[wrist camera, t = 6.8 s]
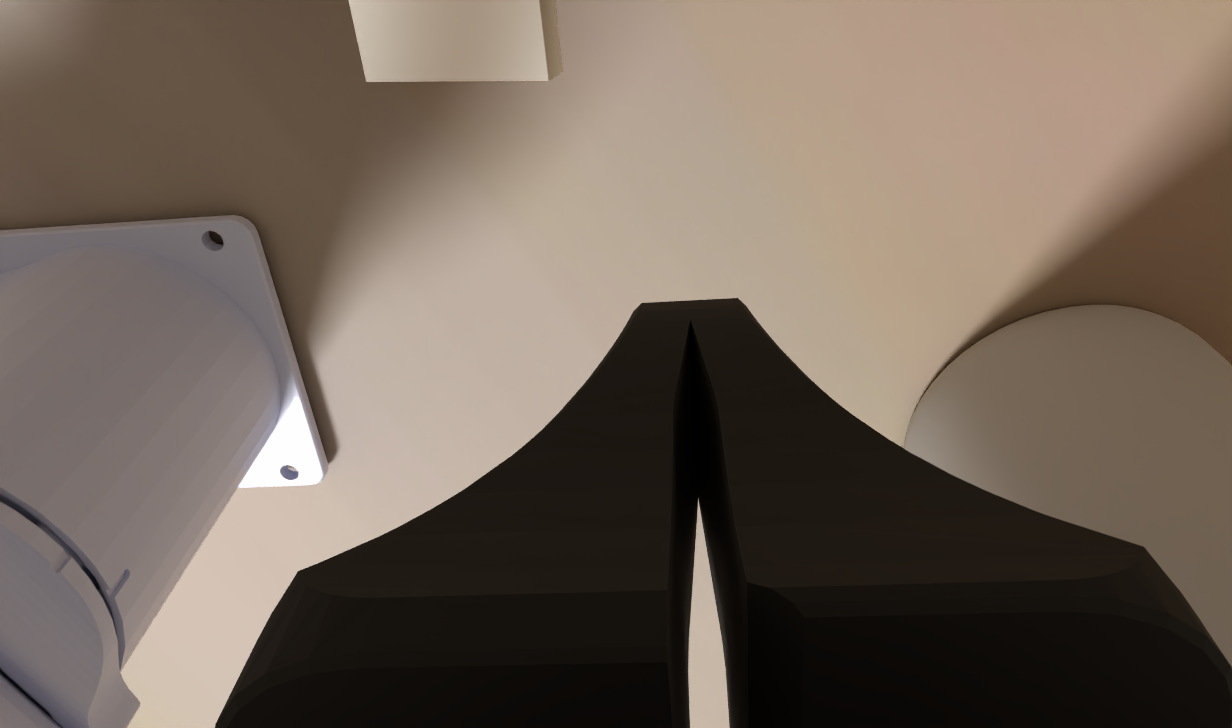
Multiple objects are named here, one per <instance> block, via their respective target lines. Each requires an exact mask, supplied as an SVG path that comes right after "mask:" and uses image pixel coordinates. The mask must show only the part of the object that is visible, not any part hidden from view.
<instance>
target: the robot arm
mask: <svg viewBox="0 0 1232 728" xmlns="http://www.w3.org/2000/svg"><path fill="white" fill-rule="evenodd" d="M209 231H214V232H216V233H218V234H219V235H220V236H221V237H222V239H223V243H224V245H220V244H216V243H215V242H213V241H212V240H211V238H210V236H209ZM286 465H290V466H293V467H295V468H296V469H297V470H298V471H297V472H296V471H291V470H290V469H288V468H287V467H286ZM327 471H328V462H327V459H326V456H325V452H324V449H323V446H322V442H321V439H320V436H319V432H318V429H317V426H316V423H315V419H314V416H313V413H312V409H311V406H310V403H309V399H308V396H307V393H306V390H305V386H304V383H303V380H302V376H301V373H300V370H299V366H298V363H297V360H296V356H295V353H294V350H293V347H292V343H291V340H290V337H289V333H288V330H287V327H286V323H285V320H284V317H283V313H282V310H281V307H280V304H279V300H278V297H277V294H276V290H275V287H274V284H273V280H272V277H271V274H270V271H269V267H268V264H267V261H266V257H265V254H264V251H263V247H262V244H261V241H260V237H259V234H258V232H257V230H256V228H255V226H254V225H253V224H252V223H251V222H250V221H249V220H248V219H246V218H244V217H241V216H236V215H225V216H209V217H194V218H179V219H164V220H149V221H134V222H118V223H103V224H88V225H73V226H58V227H43V228H27V229H12V230H0V728H127V727H128V725H129V723H130V722H131V720H132V718H133V717H134V715H135V713H136V711H137V710H138V708H139V706H140V702H139V700H138V699H137V697H136V696H135V695H134V694H133V693H132V692H131V691H130V690H129V688H128V687H127V685H126V684H125V682H124V680H123V678H122V676H121V673H120V672H121V670H122V669H123V667H124V665H125V664H126V662H127V661H128V659H129V658H130V656H131V654H132V653H133V651H134V650H135V648H136V647H137V645H138V643H139V642H140V640H141V639H142V637H143V636H144V634H145V632H146V631H147V629H148V628H149V626H150V625H151V623H152V621H153V620H154V618H155V617H156V615H157V614H158V612H159V610H160V609H161V607H162V606H163V604H164V603H165V601H166V599H167V598H168V596H169V595H170V593H171V592H172V590H173V588H174V587H175V585H176V584H177V582H178V581H179V579H180V577H181V576H182V574H183V573H184V571H185V570H186V568H187V567H188V565H189V563H190V562H191V560H192V559H193V557H194V556H195V554H196V552H197V551H198V549H199V548H200V546H201V545H202V543H203V541H204V540H205V538H206V537H207V535H208V534H209V532H210V530H211V529H212V527H213V526H214V524H215V523H216V521H217V519H218V518H219V516H220V515H221V513H222V512H223V510H224V508H225V507H226V505H227V504H228V502H229V501H230V499H231V497H232V496H233V494H234V493H235V491H236V490H237V488H253V487H276V486H299V485H314V484H318V483H320V482H321V481H322V480H323V479H324V477H325V475H326V473H327ZM698 498H699V504H700V511H701V517H702V523H703V529H704V535H705V541H706V547H707V552H708V558H709V564H710V570H711V576H712V582H713V588H714V594H715V600H716V606H717V611H718V617H719V623H720V629H721V635H722V642H723V650H724V659H725V667H726V678H727V693H728V708H729V723H730V728H1232V668H1231V665H1230V664H1229V662H1228V661H1227V659H1226V658H1225V656H1224V655H1223V653H1222V652H1221V650H1220V649H1219V647H1218V646H1217V644H1216V643H1215V641H1214V640H1213V638H1212V637H1211V636H1210V634H1209V633H1208V631H1207V630H1206V628H1205V626H1204V625H1203V623H1202V621H1201V620H1200V619H1199V617H1198V616H1197V614H1196V613H1195V611H1194V610H1193V609H1192V607H1191V606H1190V604H1189V603H1188V601H1187V600H1186V599H1185V597H1184V596H1183V594H1182V593H1181V591H1180V590H1179V589H1178V588H1177V587H1176V585H1175V584H1174V583H1173V582H1172V581H1171V579H1170V578H1169V577H1168V576H1167V574H1166V573H1165V572H1164V571H1163V570H1162V568H1161V567H1160V566H1159V565H1158V563H1157V562H1156V561H1155V560H1154V558H1153V557H1152V556H1151V555H1150V553H1149V552H1148V551H1147V550H1146V548H1145V547H1143V546H1140V545H1137V544H1134V543H1131V542H1128V541H1125V540H1122V539H1119V538H1116V537H1113V536H1109V535H1106V534H1103V533H1100V532H1097V531H1094V530H1091V529H1088V528H1085V527H1082V526H1079V525H1075V524H1072V523H1069V522H1066V521H1063V520H1060V519H1057V518H1054V517H1051V516H1048V515H1045V514H1042V513H1040V512H1037V511H1034V510H1032V509H1029V508H1027V507H1024V506H1022V505H1020V504H1017V503H1015V502H1012V501H1010V500H1007V499H1005V498H1003V497H1000V496H998V495H995V494H993V493H990V492H988V491H986V490H983V489H981V488H979V487H977V486H975V485H973V484H971V483H968V482H966V481H964V480H962V479H960V478H958V477H956V476H953V475H951V474H949V473H948V472H946V471H944V470H942V469H940V468H938V467H936V466H935V465H933V464H931V463H929V462H927V461H925V460H923V459H922V458H920V457H918V456H916V455H914V454H912V453H910V452H909V451H907V450H905V449H904V448H902V447H900V446H899V445H897V444H895V443H894V442H892V441H890V440H889V439H887V438H886V437H884V436H883V435H881V434H880V433H878V432H877V431H875V430H874V429H872V428H871V427H869V426H868V425H867V424H865V423H864V422H862V421H861V420H859V419H858V418H856V417H855V416H853V415H852V414H851V413H849V412H848V411H847V410H845V409H844V408H843V407H842V406H840V405H839V404H838V403H836V402H835V401H834V400H833V399H832V398H831V397H829V396H828V395H827V394H826V393H825V392H824V391H822V390H821V389H820V388H819V387H818V386H817V385H816V384H815V383H814V382H813V381H812V380H811V379H810V378H808V377H807V376H806V375H805V374H804V373H803V372H802V371H801V370H800V369H799V367H798V366H797V365H796V364H795V363H794V362H793V361H792V360H791V359H790V358H789V357H788V356H787V355H786V354H785V353H784V352H783V351H782V350H781V349H780V348H779V347H778V345H777V344H776V343H775V342H774V341H773V340H772V339H771V337H770V336H769V335H768V334H767V333H766V331H765V330H764V329H763V328H762V327H761V325H760V324H759V323H758V322H757V320H756V319H755V318H754V316H753V315H752V314H751V312H750V311H749V309H748V308H747V306H746V305H744V304H743V303H742V302H741V301H740V300H739V299H738V298H732V299H712V300H693V301H674V302H654V303H641V304H640V305H639V306H638V307H637V308H636V309H635V310H634V311H633V313H632V315H631V317H630V319H629V321H628V323H627V324H626V326H625V328H624V329H623V331H622V332H621V334H620V336H619V337H618V339H617V340H616V342H615V343H614V345H613V346H612V348H611V349H610V351H609V352H608V353H607V355H606V356H605V357H604V359H603V360H602V361H601V363H600V364H599V365H598V367H597V368H596V369H595V371H594V372H593V373H592V375H591V376H590V377H589V379H588V380H587V381H586V382H585V384H584V385H583V386H582V387H581V388H580V389H579V391H578V392H577V393H576V394H575V395H574V396H573V397H572V398H571V400H570V401H569V402H568V403H567V404H566V405H565V406H564V408H563V409H562V410H561V411H560V412H559V413H558V414H557V415H556V416H555V417H554V418H553V419H552V420H551V421H550V422H549V423H548V424H547V425H546V426H545V427H544V428H543V429H542V430H541V431H540V432H539V433H538V434H537V435H536V436H535V437H534V438H532V439H531V440H530V441H529V442H528V443H527V444H526V445H524V446H523V447H522V448H521V449H520V450H518V451H517V452H516V453H515V454H513V455H512V456H511V457H509V458H508V459H506V460H505V461H504V462H502V463H501V464H499V465H498V466H497V467H495V468H494V469H492V470H491V471H490V472H488V473H487V474H485V475H484V476H483V477H481V478H480V479H478V480H477V481H476V482H474V483H473V484H471V485H470V486H469V487H467V488H466V489H464V490H463V491H461V492H459V493H458V494H456V495H455V496H453V497H451V498H449V499H448V500H446V501H444V502H443V503H441V504H439V505H438V506H436V507H434V508H433V509H431V510H429V511H427V512H425V513H424V514H422V515H420V516H418V517H416V518H414V519H413V520H411V521H409V522H407V523H405V524H403V525H401V526H400V527H398V528H396V529H393V530H391V531H389V532H387V533H385V534H383V535H381V536H379V537H377V538H375V539H373V540H370V541H368V542H366V543H363V544H361V545H359V546H357V547H354V548H352V549H350V550H348V551H345V552H343V553H341V554H338V555H336V556H334V557H332V558H329V559H327V560H325V561H323V562H320V563H318V564H316V565H313V566H310V567H308V568H305V569H303V570H300V571H298V572H297V574H296V576H295V577H294V579H293V581H292V582H291V584H290V586H289V587H288V589H287V590H286V592H285V593H284V595H283V597H282V598H281V600H280V601H279V603H278V604H277V606H276V608H275V609H274V611H273V612H272V614H271V616H270V618H269V619H268V621H267V623H266V625H265V627H264V629H263V631H262V633H261V634H260V636H259V638H258V640H257V642H256V644H255V646H254V648H253V650H252V652H251V654H250V656H249V658H248V660H247V662H246V664H245V666H244V668H243V670H242V672H241V674H240V676H239V678H238V680H237V682H236V684H235V686H234V688H233V690H232V692H231V694H230V696H229V698H228V700H227V702H226V704H225V706H224V708H223V710H222V712H221V714H220V716H219V718H218V720H217V723H216V726H215V728H690V718H689V688H688V647H689V627H690V612H691V597H692V583H693V568H694V553H695V539H696V523H697V508H698Z"/></svg>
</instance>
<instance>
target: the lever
mask: <svg viewBox="0 0 1232 728" xmlns="http://www.w3.org/2000/svg"><path fill="white" fill-rule="evenodd" d="M349 5H350V9H351V14H352V19H353V23H354V28H355V32H356V37H357V42H358V46H359V51H360V55H361V60H362V65H363V69H364V74H365V78H366V82H436V81H549V80H550V79H552V78H553V77H555V76H557V75H558V74H560V73H561V72H563V68H562V59H561V50H560V41H559V32H558V22H557V13H556V4H555V0H349Z"/></svg>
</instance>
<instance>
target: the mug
mask: <svg viewBox="0 0 1232 728" xmlns="http://www.w3.org/2000/svg"><path fill="white" fill-rule="evenodd" d="M904 449H905V450H907V451H909V452H910V453H912V454H914V455H916V456H918V457H920V458H922V459H923V460H925V461H927V462H929V463H931V464H933V465H935V466H936V467H938V468H940V469H942V470H944V471H946V472H948V473H949V474H951V475H953V476H956V477H958V478H960V479H962V480H964V481H966V482H968V483H971V484H973V485H975V486H977V487H979V488H981V489H983V490H986V491H988V492H990V493H993V494H995V495H998V496H1000V497H1003V498H1005V499H1007V500H1010V501H1012V502H1015V503H1017V504H1020V505H1022V506H1024V507H1027V508H1029V509H1032V510H1034V511H1037V512H1040V513H1042V514H1045V515H1048V516H1051V517H1054V518H1057V519H1060V520H1063V521H1066V522H1069V523H1072V524H1075V525H1079V526H1082V527H1085V528H1088V529H1091V530H1094V531H1097V532H1100V533H1103V534H1106V535H1109V536H1113V537H1116V538H1119V539H1122V540H1125V541H1128V542H1131V543H1134V544H1137V545H1140V546H1143V547H1145V548H1146V550H1147V551H1148V552H1149V553H1150V555H1151V556H1152V557H1153V558H1154V560H1155V561H1156V562H1157V563H1158V565H1159V566H1160V567H1161V568H1162V570H1163V571H1164V572H1165V573H1166V574H1167V576H1168V577H1169V578H1170V579H1171V581H1172V582H1173V583H1174V584H1175V585H1176V587H1177V588H1178V589H1179V590H1180V591H1181V593H1182V594H1183V596H1184V597H1185V599H1186V600H1187V601H1188V603H1189V604H1190V606H1191V607H1192V609H1193V610H1194V611H1195V613H1196V614H1197V616H1198V617H1199V619H1200V620H1201V621H1202V623H1203V625H1204V626H1205V628H1206V630H1207V631H1208V633H1209V634H1210V636H1211V637H1212V638H1213V640H1214V641H1215V643H1216V644H1217V646H1218V647H1219V649H1220V650H1221V652H1222V653H1223V655H1224V656H1225V658H1226V659H1227V661H1228V662H1229V664H1230V665H1231V668H1232V365H1231V364H1230V363H1229V362H1228V361H1227V360H1226V359H1225V358H1224V357H1223V356H1222V355H1220V354H1219V353H1218V352H1217V351H1216V350H1215V349H1214V348H1213V347H1211V346H1210V345H1209V344H1208V343H1207V342H1206V341H1205V340H1203V339H1202V338H1201V337H1200V336H1198V335H1197V334H1196V333H1194V332H1192V331H1191V330H1189V329H1188V328H1186V327H1184V326H1183V325H1181V324H1179V323H1177V322H1175V321H1173V320H1170V319H1168V318H1166V317H1163V316H1161V315H1158V314H1156V313H1153V312H1149V311H1146V310H1142V309H1138V308H1134V307H1126V306H1118V305H1082V306H1072V307H1065V308H1060V309H1056V310H1051V311H1046V312H1042V313H1039V314H1036V315H1033V316H1030V317H1027V318H1024V319H1021V320H1019V321H1016V322H1014V323H1012V324H1010V325H1007V326H1005V327H1003V328H1001V329H999V330H997V331H995V332H993V333H992V334H990V335H988V336H986V337H985V338H983V339H981V340H980V341H978V342H977V343H975V344H974V345H973V346H971V347H970V348H968V349H967V350H966V351H964V352H963V353H962V354H960V355H959V356H958V357H957V358H956V359H955V360H954V361H953V362H951V363H950V364H949V365H948V366H947V367H946V368H945V369H944V370H943V371H942V372H941V374H940V375H939V376H938V377H937V378H936V379H935V380H934V381H933V383H932V384H931V385H930V387H929V388H928V390H927V391H926V392H925V394H924V395H923V397H922V398H921V400H920V402H919V404H918V406H917V407H916V409H915V411H914V413H913V415H912V418H911V421H910V424H909V426H908V429H907V432H906V437H905V443H904Z"/></svg>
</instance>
